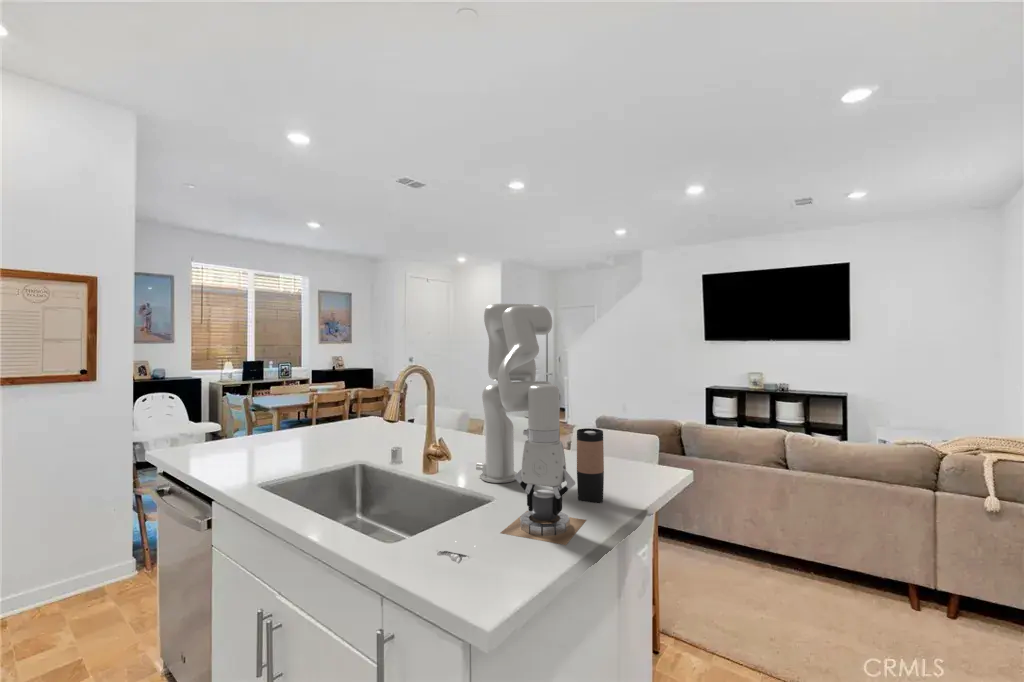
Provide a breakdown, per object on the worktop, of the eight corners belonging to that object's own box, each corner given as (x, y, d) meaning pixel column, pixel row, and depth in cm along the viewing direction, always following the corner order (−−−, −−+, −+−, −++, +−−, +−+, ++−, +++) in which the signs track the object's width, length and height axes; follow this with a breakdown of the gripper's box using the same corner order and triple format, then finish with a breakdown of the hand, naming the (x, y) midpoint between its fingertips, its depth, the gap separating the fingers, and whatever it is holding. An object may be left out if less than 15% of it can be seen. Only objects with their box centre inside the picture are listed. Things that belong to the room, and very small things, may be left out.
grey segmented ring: (512, 530, 110) (512, 522, 110) (531, 514, 120) (531, 506, 120) (559, 539, 105) (559, 530, 105) (575, 521, 115) (575, 513, 115)
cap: (528, 518, 111) (528, 495, 111) (536, 509, 116) (536, 488, 116) (552, 521, 108) (552, 498, 109) (560, 513, 114) (560, 490, 114)
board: (499, 538, 109) (499, 532, 109) (527, 515, 123) (527, 510, 123) (566, 550, 102) (565, 544, 102) (586, 524, 116) (586, 519, 116)
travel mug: (587, 494, 140) (587, 427, 140) (609, 500, 134) (608, 430, 134) (571, 500, 134) (571, 430, 135) (593, 507, 129) (593, 434, 129)
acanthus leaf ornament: (455, 545, 106) (455, 537, 106) (480, 552, 102) (480, 544, 102) (433, 558, 100) (433, 549, 100) (458, 566, 96) (458, 556, 96)
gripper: (504, 436, 113) (505, 511, 113) (573, 441, 106) (574, 522, 105) (517, 430, 120) (518, 501, 120) (583, 435, 112) (583, 511, 112)
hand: (544, 510), depth 113 cm, fingers closed on cap, 5 cm apart
